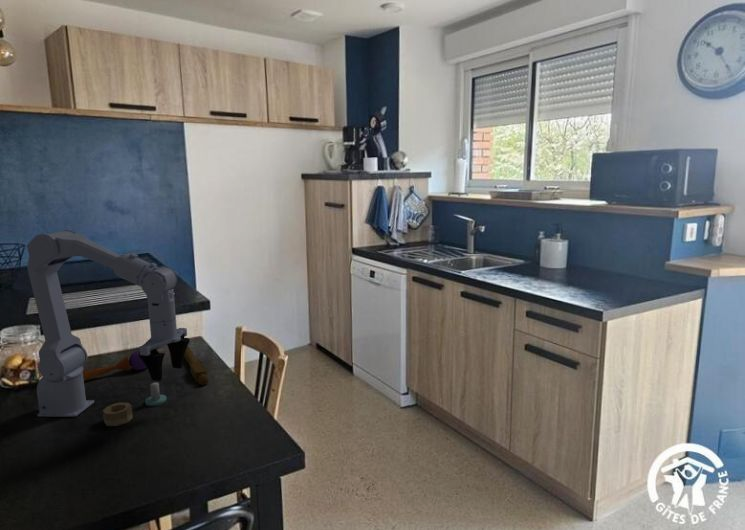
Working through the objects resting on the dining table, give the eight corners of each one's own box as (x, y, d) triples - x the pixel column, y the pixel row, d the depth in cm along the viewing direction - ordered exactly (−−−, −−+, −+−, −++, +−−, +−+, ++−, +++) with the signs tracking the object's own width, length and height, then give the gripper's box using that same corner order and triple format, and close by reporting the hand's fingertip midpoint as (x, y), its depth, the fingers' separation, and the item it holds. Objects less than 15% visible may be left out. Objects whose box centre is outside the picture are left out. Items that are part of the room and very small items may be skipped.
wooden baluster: (189, 344, 160) (209, 375, 134) (190, 353, 161) (210, 385, 135) (179, 345, 159) (198, 377, 133) (180, 354, 159) (198, 388, 134)
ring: (100, 425, 113) (98, 413, 112) (113, 414, 119) (112, 402, 118) (123, 426, 113) (122, 413, 112) (136, 414, 118) (135, 402, 118)
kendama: (71, 367, 139) (146, 346, 150) (76, 387, 139) (150, 365, 151) (73, 369, 134) (150, 348, 145) (78, 390, 134) (154, 367, 146)
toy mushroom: (141, 406, 122) (139, 388, 122) (151, 397, 127) (149, 380, 127) (161, 406, 122) (159, 388, 121) (170, 397, 127) (168, 380, 126)
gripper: (156, 329, 107) (161, 387, 110) (196, 312, 121) (199, 364, 124) (129, 327, 109) (135, 384, 112) (171, 310, 123) (175, 361, 125)
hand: (167, 373), depth 118 cm, fingers open, 7 cm apart
